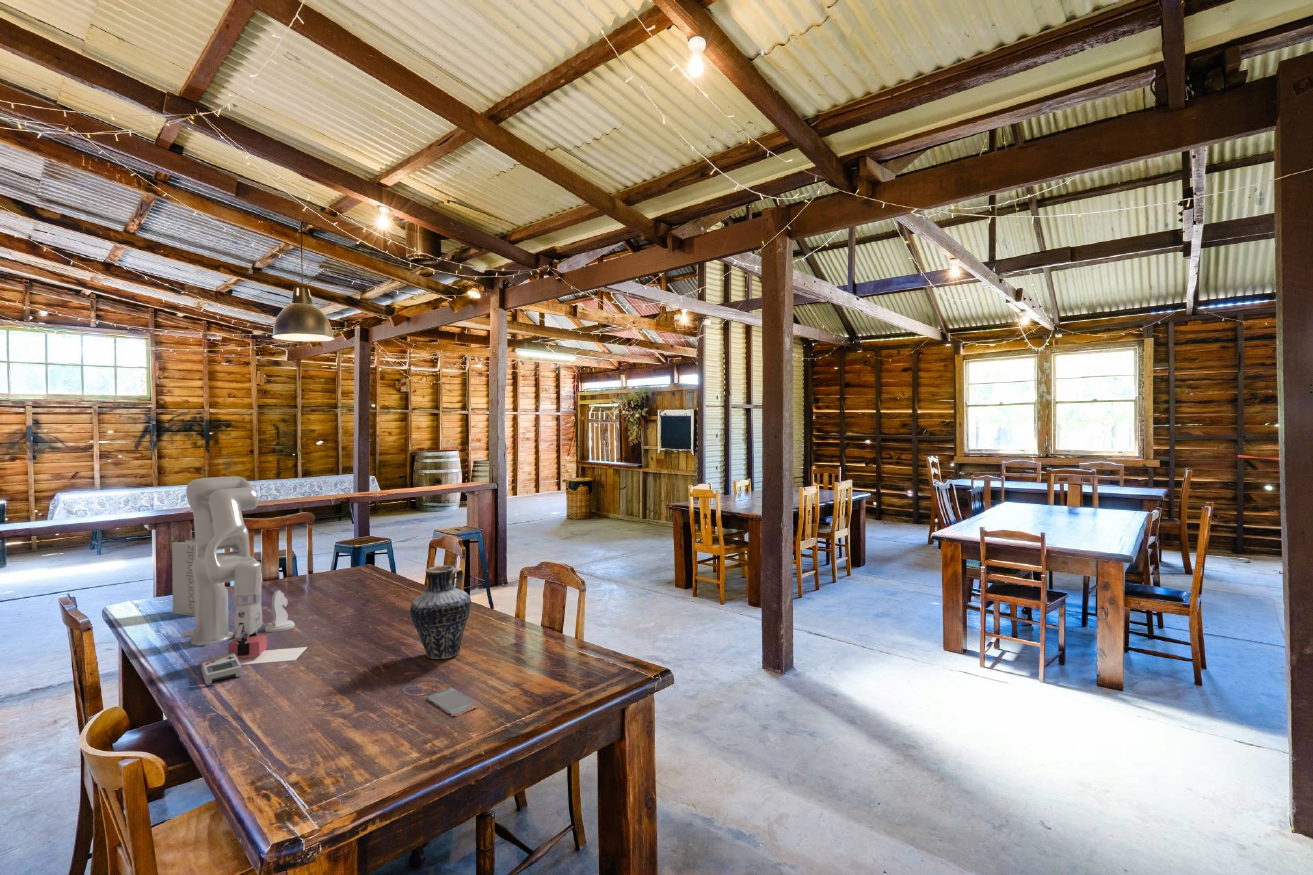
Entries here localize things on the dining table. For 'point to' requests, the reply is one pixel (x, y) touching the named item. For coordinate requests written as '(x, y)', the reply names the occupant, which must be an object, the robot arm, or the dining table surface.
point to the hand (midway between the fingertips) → (247, 650)
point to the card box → (250, 646)
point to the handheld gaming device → (221, 667)
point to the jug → (441, 612)
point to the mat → (272, 656)
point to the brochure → (184, 577)
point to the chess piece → (279, 614)
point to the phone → (451, 700)
